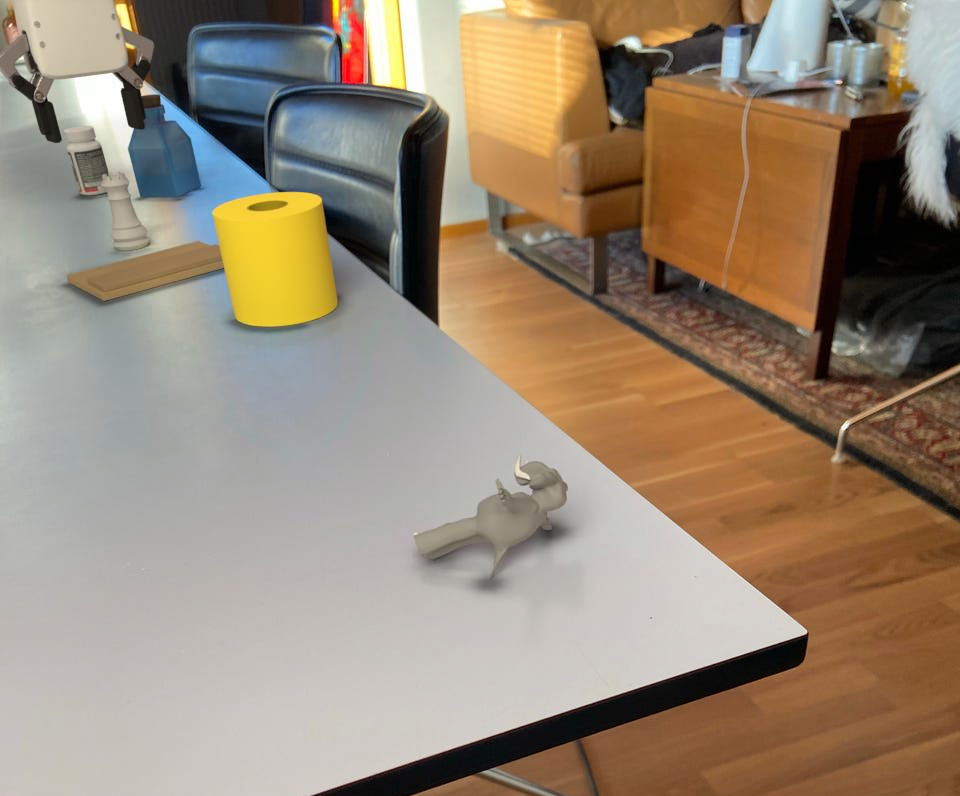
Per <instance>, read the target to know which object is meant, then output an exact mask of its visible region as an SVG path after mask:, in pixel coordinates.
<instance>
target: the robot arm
mask: <svg viewBox="0 0 960 796" xmlns="http://www.w3.org/2000/svg"><path fill="white" fill-rule="evenodd" d="M12 6H13V11H14V17H15V24H16V28H17V35H18V37H16V38H15V39H14V40H13V41H12V42H11V43H10V44H8V45H7V46H6V47H4V48H3V50H1V51H0V72H1V74H2V75H3V76H4V78H5V79H6V80H7V81H8V84H9V85H10V86H11V87H13V89H15V90H16V91H18V92H19V93H21V95H23V96H24V97H26V99H27V100H29V101H31V104H32V108H33V111H34V115H35V118H36V119H35V120H36V122H37V126H38V130H39V132H40V134H41V135H43V136H45V137H44V138H45V140H46V141H47V142H50V143H54V144H61V142H62V141H63V138H62V134H61V131H60V130H61V129H60V127H59V122H58V119H57V115H56V111H55V107H54V104H53V102H52V101H49V99H48V94H49V93H50V89H51V87H52V85H53V83H54V81H55V80H68V79H75V78H84V77H91V76H100V75H108V74H113V75H114V76H115V78H117V80H119V82H121V83H122V87H121V88H120V95H121V99H122V105H123V109H124V113H125V118H126V122H127V125H128V127H129V128H130V129H134V128H135V129H139V130H142V129H145V125H144V120H145V119H146V115H145V110H144V105H143V101H142V96H143V95H142V92H141V89H142V88H144V82H145V79H146V78H147V76H148V74H149V73H150V71H151V68H152V67H151V66H152V65H151V62H152V60H153V54H154V49H155V44H154V42H153V40H152V39H149V38H147V37H145V36H143V35H141V34H138V33H136V32H135V31H133V30H130V29H128V28H126V27H124V26H122V24H121V21H120V17H119V15H118V11H117V8H116V5H115V1H114V0H12ZM127 45H130V46H132V47H133V48H135V49H136V59H135V61H134V62H133V64H132V66H131V67H130V65H129V54H128V49H127ZM22 57H23V60H24V65H25V67H26V69H27V71H28V72H29V74H31V77H30V79H29V80H28V79H26V78H25V77H23V75H21V74H20V72H19V71H18V69H17V67H16V62H18V60H20V59H21V58H22Z"/></svg>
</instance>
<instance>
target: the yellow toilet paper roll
mask: <svg viewBox="0 0 960 796" xmlns="http://www.w3.org/2000/svg"><path fill="white" fill-rule="evenodd" d="M324 210H325V209H324V205H323V198H322V197H321V196H319V195H318V194H315V193H310V192H302V191H301V192H300V191H278V192H277V191H276V192H267V193H260V194H254V195H253V194H252V195H249V196H243V197H239V198H236V199H232V200H230V201H227V202H224V203H221V204H220V205H218V206H217V207H215V208H214V209H213V210H212V212H211V213H212V218H213V222H214V227H215V232H216V236H217V241H218V245H219V246H220V251H221V255H222V260H223V264H224V268H223V269H224V274H225V278H226V282H227V283H226V284H227V287H228V292H229V296H230V301H231V306H232V310H233V314H234V318H235V319H236V320H237V321H238V322H240V323H241V324H244V325H248V326H251V327H264V328H265V327H267V328H268V327H270V328H273V327H285V326H294V325H298V324H304V323H307V322H311V321H314V320H316V319H320V318H323V317H324V316H326V315H328V314H330V313H331V312H333V311H334V310H335V309H336V308H337V307H338V305H339V302H338V301H339V300H338V294H337V288H336V282H335V275H334V269H333V263H332V261H333V260H332V256H331V249H330V243H329V236H328V230H327V225H326V216H325V211H324Z"/></svg>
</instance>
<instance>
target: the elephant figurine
mask: <svg viewBox="0 0 960 796" xmlns="http://www.w3.org/2000/svg"><path fill="white" fill-rule="evenodd" d="M521 463H522V454H521V453H520V454H519V456H518V458H517V460H516V461H515V465H514V472H513V474H514V478H515V481H516V483H517V484H518V485H519V486H521V487H525V486H529V487H528V488H529V489H530V490H532V491H531V494H527V493H525V492H523V491H519V492H518V491H517V492H515V493H510V491H508V490H507V489H506V488H505V487H504V485H503V483H502V482H501V481H500V479H499V478H497V479H495V481H494V482H495V484H496V489H497V493H494V494H493V495H489V496H488V497H486V498H484V499H482V500H481V501H479V503H478V504H477V508H476V515H475V516H473V517H466V518H462V519H459V520H456V521H453V522H447V523H444V524H442V525H440V526H438V527H436V528H431V529H430V530H425V531H423V532H419V531H413V533H412V534H413V538H414V539H413V540H414V541H415V545H416V548H417V549H418V551H419V553H420V555H421V556H423V557H424V556H428V558H429V560H431V561H434V560H436V559H438V558H440V557H443V556H445V555H446V554H448V553H451V552H453V551H455V550H456V549H459V548H461V547H465V546H469V545H472V544H475V543H477V542H480V541H481V542H482V541H484V540H488V541H489V543H490V544H491V546H492V549H493V551H494V554H495V556H494V563H493V568H492V571H491V573H490V577H489V578H490V580H491V579H492V577H493V576H494V574H495V572H496V570H497V569H498V566H499V565H500V563H501V562H502V559H503V558H504V556H505V554H506V553H507V552H508V550H509V549H511V548H513V547H515V546H516V545H518V544H520V543H522V542H524V541H525V540H527V539H529V538H530V537H531V536H532V535H533V534H534V533H535V532H536V531H537V530H538V528H539V527H540V528H542V530H544V531H552V530H553V528H552V527H553V525H552V521H550V518H549V516H548V514H549V512H553V511H557V510H558V509H561V508H563V506H565V504H566V503H567V502H568V496H567V492H568V491H569V487H568V483H567V482H565V481H564V480H563V478H562V476H561V474H560V473H559V471H558V470H557V469H556V468H555V467H552V468H551V467H550V466H549V467H548V466H547V465H546V464H545V463H544V462H542V461H538V460H532V461H529V459H527V460H526V461H525V463H524V464H523V465H522V464H521Z"/></svg>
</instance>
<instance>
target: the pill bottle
mask: <svg viewBox="0 0 960 796" xmlns="http://www.w3.org/2000/svg"><path fill="white" fill-rule="evenodd" d="M63 133H64V137H65V140H66V142H68V144H67V146H66V152H67V155H68V158H69V161H70V165H71V169H72V171H73V176H74V178H75V182H76V186H77V189H78V192H79V194H80V195H82V196H97V195H102V194H106V193H107V191H106V190H105V189H104V188H103V187H102V186H101V184H102V181H103V178H102V176H103V174H107V176H109V175H108V173H110V172H109V168H108V165H107V164H108V163H107V162H106V158H105V154H104V150H103V147H102V144H101V142H100V141H99V140H97V139H96V138H97V136H96V131H95V129H94V126H92V125H79V126H73V127H69V128H66V129H64V130H63ZM107 194H108V193H107Z"/></svg>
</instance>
